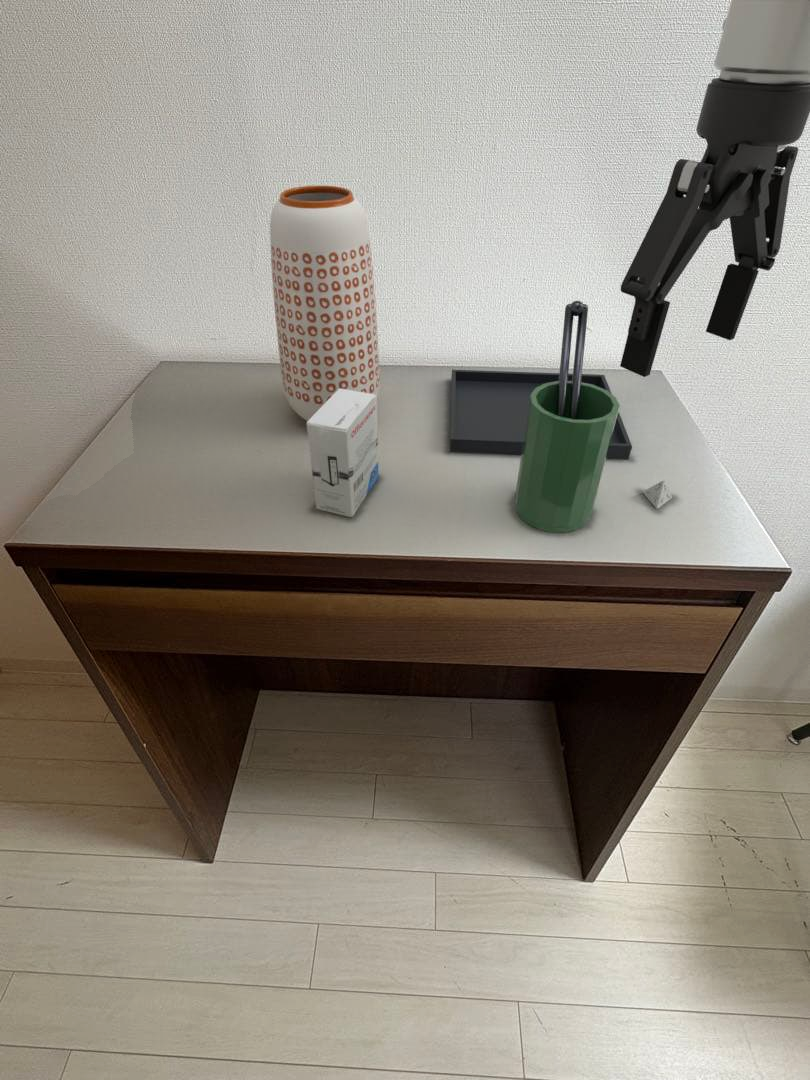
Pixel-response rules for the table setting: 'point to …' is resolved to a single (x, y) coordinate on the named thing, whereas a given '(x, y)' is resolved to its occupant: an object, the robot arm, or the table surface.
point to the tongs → (570, 311)
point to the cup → (563, 457)
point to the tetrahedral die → (658, 494)
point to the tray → (507, 411)
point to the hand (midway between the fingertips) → (679, 352)
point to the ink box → (344, 451)
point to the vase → (323, 296)
